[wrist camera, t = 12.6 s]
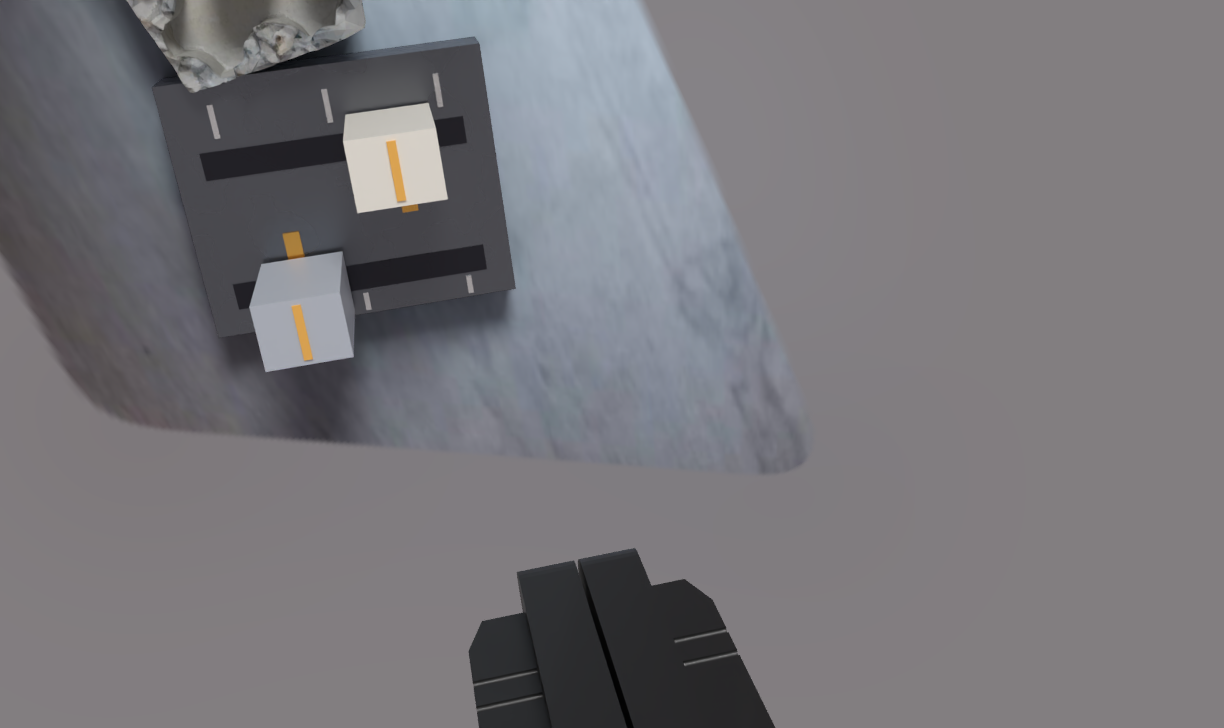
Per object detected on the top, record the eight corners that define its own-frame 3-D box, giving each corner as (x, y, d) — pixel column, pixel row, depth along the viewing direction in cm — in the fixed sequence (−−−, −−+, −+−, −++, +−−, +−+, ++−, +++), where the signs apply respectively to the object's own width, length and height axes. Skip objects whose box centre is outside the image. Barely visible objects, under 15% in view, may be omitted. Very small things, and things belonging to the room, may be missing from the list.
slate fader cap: (261, 264, 42) (249, 308, 38) (342, 251, 43) (339, 292, 38) (275, 323, 43) (265, 372, 39) (354, 310, 44) (353, 357, 39)
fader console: (161, 78, 41) (151, 87, 39) (474, 36, 43) (479, 43, 41) (224, 320, 45) (218, 338, 43) (509, 273, 47) (515, 289, 45)
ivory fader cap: (345, 114, 41) (342, 142, 36) (428, 102, 41) (435, 128, 37) (358, 179, 42) (357, 213, 37) (439, 167, 42) (447, 199, 38)
